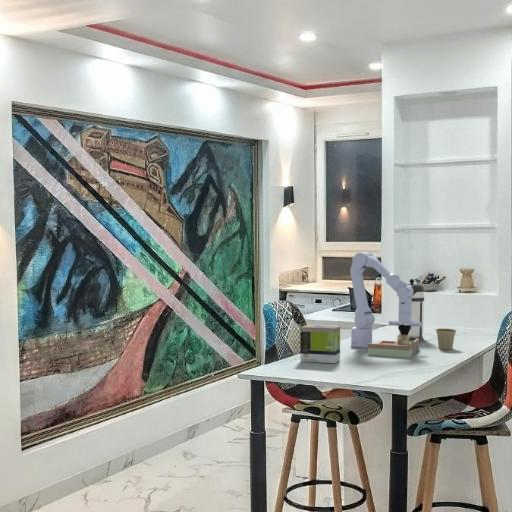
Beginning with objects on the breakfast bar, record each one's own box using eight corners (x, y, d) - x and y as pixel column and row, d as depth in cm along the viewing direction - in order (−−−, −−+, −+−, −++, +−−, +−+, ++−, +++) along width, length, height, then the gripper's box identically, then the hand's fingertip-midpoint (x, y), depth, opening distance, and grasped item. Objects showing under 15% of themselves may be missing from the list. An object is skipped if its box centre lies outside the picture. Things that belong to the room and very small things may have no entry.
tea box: (340, 360, 333) (340, 325, 332) (334, 364, 324) (335, 328, 323) (306, 358, 338) (306, 323, 337) (299, 361, 329) (299, 326, 328)
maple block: (397, 345, 354) (397, 335, 353) (399, 344, 358) (399, 334, 358) (407, 346, 352) (407, 336, 352) (409, 344, 356) (409, 335, 356)
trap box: (368, 354, 347) (368, 343, 347) (379, 346, 369) (380, 336, 369) (409, 357, 340) (409, 346, 340) (418, 349, 363) (418, 338, 362)
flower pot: (456, 350, 361) (456, 331, 360) (435, 349, 362) (435, 330, 362) (455, 347, 370) (456, 329, 369) (434, 346, 372) (435, 328, 371)
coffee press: (433, 339, 394) (435, 279, 393) (411, 341, 385) (412, 280, 384) (408, 335, 409) (409, 277, 407) (386, 337, 400) (387, 278, 398)
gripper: (422, 311, 359) (422, 341, 360) (390, 310, 365) (390, 339, 365) (420, 313, 353) (419, 343, 353) (387, 312, 358) (387, 341, 359)
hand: (404, 342), depth 359 cm, fingers closed, pressing on maple block
